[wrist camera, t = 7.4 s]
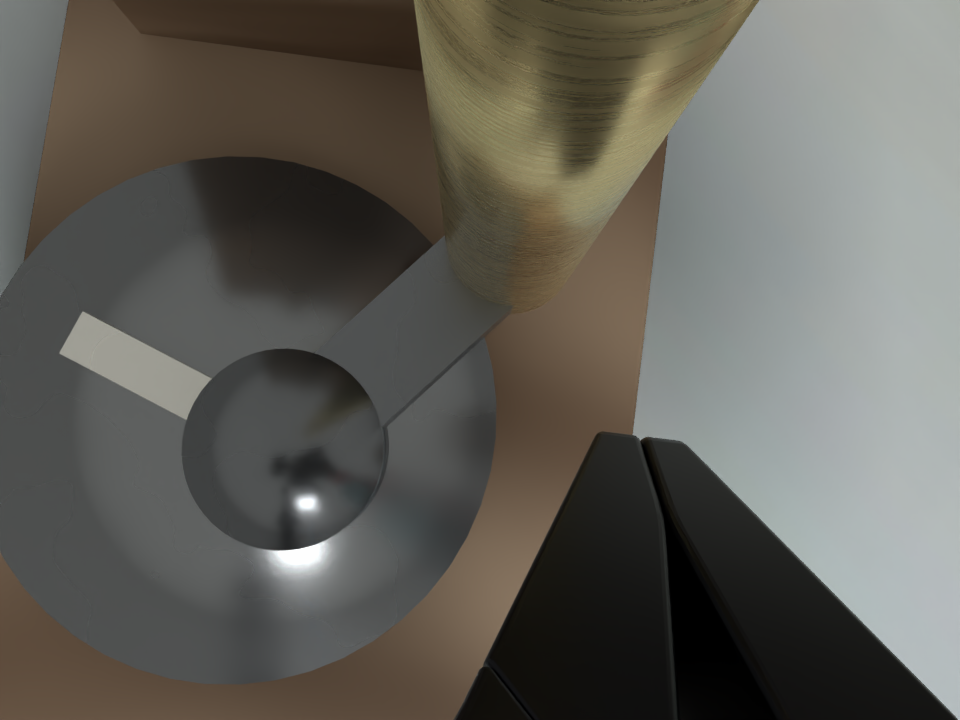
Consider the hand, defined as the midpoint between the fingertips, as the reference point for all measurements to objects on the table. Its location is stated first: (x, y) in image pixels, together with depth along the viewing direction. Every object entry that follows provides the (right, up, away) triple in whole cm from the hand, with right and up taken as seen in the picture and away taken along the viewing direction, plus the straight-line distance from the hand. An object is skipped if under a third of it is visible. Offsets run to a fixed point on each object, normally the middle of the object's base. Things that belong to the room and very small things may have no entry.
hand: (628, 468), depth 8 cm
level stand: (-4, +1, +9) cm, 10 cm away
